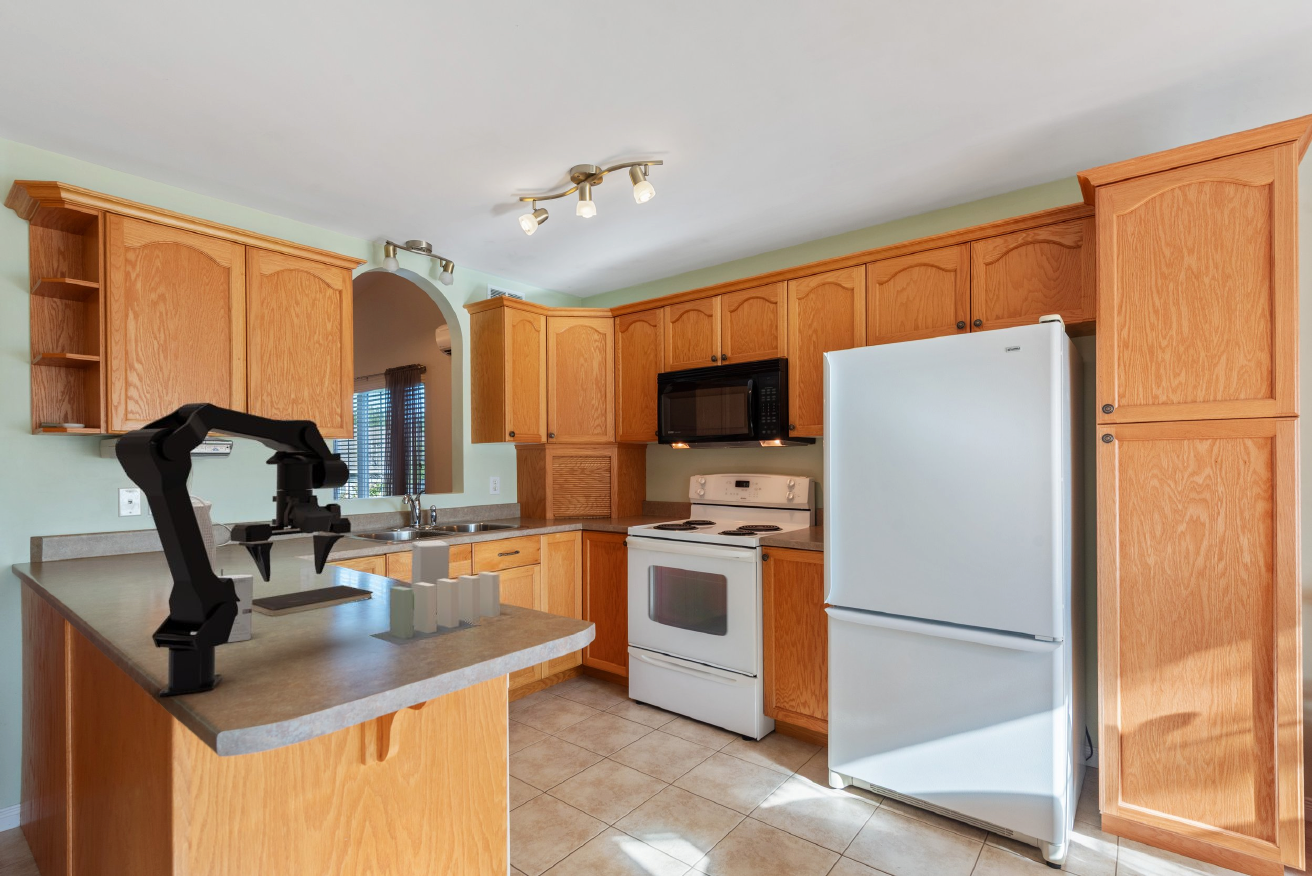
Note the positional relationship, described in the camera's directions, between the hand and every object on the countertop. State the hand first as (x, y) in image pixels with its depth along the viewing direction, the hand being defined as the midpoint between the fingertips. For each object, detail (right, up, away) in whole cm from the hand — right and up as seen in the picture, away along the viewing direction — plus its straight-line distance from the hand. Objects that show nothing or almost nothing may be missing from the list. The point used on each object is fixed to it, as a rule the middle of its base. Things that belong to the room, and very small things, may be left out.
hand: (293, 577), depth 115 cm
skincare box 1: (-16, -14, +8) cm, 23 cm away
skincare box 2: (+14, -14, +29) cm, 35 cm away
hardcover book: (-19, -16, +41) cm, 48 cm away
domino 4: (+26, -13, +19) cm, 35 cm away
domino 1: (+16, -13, +7) cm, 22 cm away
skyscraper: (-26, -14, +12) cm, 32 cm away
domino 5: (+29, -13, +23) cm, 39 cm away
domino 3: (+23, -13, +15) cm, 30 cm away
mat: (+22, -13, +15) cm, 30 cm away
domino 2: (+19, -13, +11) cm, 26 cm away
